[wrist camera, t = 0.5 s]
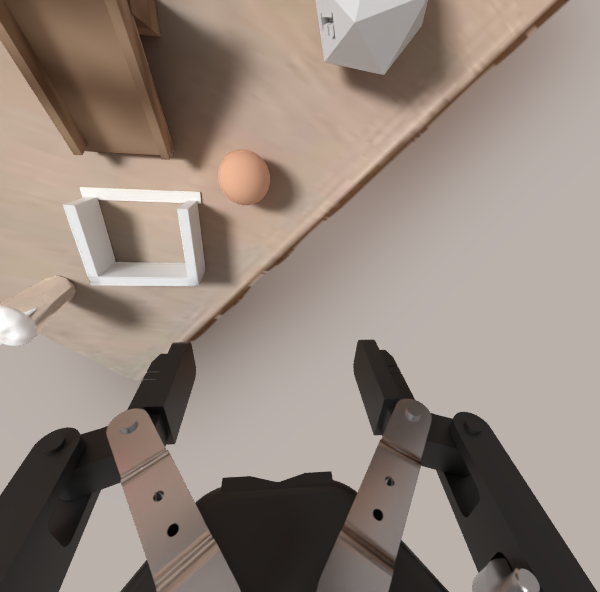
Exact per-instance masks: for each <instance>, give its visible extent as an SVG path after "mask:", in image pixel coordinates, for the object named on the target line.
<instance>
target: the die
mask: <svg viewBox="0 0 600 592" xmlns="http://www.w3.org/2000/svg"><path fill="white" fill-rule="evenodd" d="M315 1H316V7H317V14H318V21H319V28H320V35H321V41H322V48H323V55H324V62H326V63H331V64H335V65H340V66H345V67H349V68H354V69H358V70H363V71H368V72H372V73H377V74H381V75H385V74H386V72H387V71H388V70H389V68H390V67H391V66H392V64H393V63H394V62H395V60H396V59H397V58H398V56H399V55H400V54H401V52H402V51H403V50H404V49H405V47H406V46H407V45H408V43H409V42H410V41H411V39H412V38H413V37H414V35H415V34H416V33H417V31H418V30H419V29H420V28H421V26H422V24H423V19H424V15H425V11H426V7H427V3H428V0H315Z"/></svg>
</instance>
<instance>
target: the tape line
mask: <svg viewBox="0 0 600 592" xmlns="http://www.w3.org/2000/svg"><path fill="white" fill-rule="evenodd" d="M80 191H81V194H82V197H83V198H84V197H97V200H115V201H142V202H170V203H185V202H186V201H187V200H193V201H197V203H198V204H201V196H200V192H191V191H166V190H141V189H116V188H91V187H80Z"/></svg>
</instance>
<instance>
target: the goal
mask: <svg viewBox="0 0 600 592" xmlns="http://www.w3.org/2000/svg"><path fill="white" fill-rule="evenodd" d="M63 207H64V210H65V212H66V215H67V218H68V221H69V224H70V227H71V230H72V233H73V235H74V238H75V241H76V244H77V247H78V250H79V253H80V256H81V258H82V261H83V264H84V267H85V270H86V273H87V276H88V278H89V281H90V284H91V285H131V286H199V284H200V282H201V280H202V278H203V275H204V273H205V271H206V269H205V261H204V253H203V244H202V236H201V228H200V219H199V211H198V203H197V201H193V200H187V201H186V202H185V203H183V204H182V205H181V206H180V207H179V208H177V212H178V218H179V225H180V231H181V238H182V244H183V250H184V257H185V263H152V262H116V261H115V257H114V254H113V250H112V247H111V243H110V240H109V236H108V233H107V229H106V226H105V222H104V219H103V215H102V212H101V208H100V205H99V201H98V200H97V197H84V198H81V199H78V200H75V201H72V202H70V203H67V204H64V205H63Z"/></svg>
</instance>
